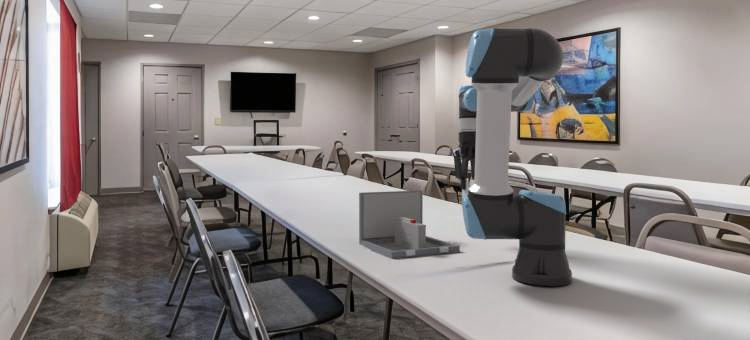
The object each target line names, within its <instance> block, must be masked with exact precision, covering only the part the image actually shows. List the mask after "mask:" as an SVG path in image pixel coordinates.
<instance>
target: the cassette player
mask: <svg viewBox="0 0 750 340" xmlns="http://www.w3.org/2000/svg"><path fill="white" fill-rule="evenodd" d="M426 228H427V227H426V224H423V223H422V224H420V223H416V220H413V219H409V218H405V217H398V219H395V242H394V244H395V245H396V246H398V247H401V248H402V249H403V250H409V249H420V248H427V247H426V245H427V244H426V242H427V241H426V236H427V234H426V230H427V229H426Z"/></svg>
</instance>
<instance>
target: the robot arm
mask: <svg viewBox="0 0 750 340" xmlns="http://www.w3.org/2000/svg"><path fill="white" fill-rule="evenodd" d="M563 52H564V51H563V49H562V46H561V44H560V43H559V41H558V40H557V39H556V37H554V36H553V35H552V34H551V33H549V32H547V31H545V30H543V29H539V28H531V27H530V28H529V27H528V28H497V27H496V28H493V27H491V28H484V29H482V28H481V29H477V30H476V31H474V32H473V33H472V36H471V37H470V39H469V43H468V48H467V53H466V60H465V76H466V77H467V78H470V79H471V84H469V85H468V84H467V85H462V86H460V87H459V90H458V130H459V132H458V142H459V144H458V148H456V149H453V150H452V151H451V153H452V157H453V166H454V175H455V176H454V177H455V179H457V180H459V181H460V190H461V207H462V216H463V222H464V227H465V230H466V234H467V236H468V237H470V239H474V240H476V239H477V240H483V241H487V240H518V242H519V243H518V245H519V246H518V247H519V248H518V251H517V254H516V258H515V260H514V261H515V262H514V265H513V266H512V269H511V277H512V279H514V280H515V281H517V282H521V283H525V284H530V285H534V286H535V285H536V286H547V287H548V286H550V287H551V286H564V285H569V284H570V283H573V272H572V270H571V269H570V263H569V260H568V257H567V253H566V252H567V251H566V219H567V217H566V215H567V208H566V200H565V198H564V197H563V196H562V195H559V194H555V193H551V192H550V193H549V192H544V191H538V190H537V191H535V190H527V189H521V190H519V192H518V195H515V194H514V188H512V187H511V185H510V184H509V168H510V167H509V164H510V163H509V162H510V141H511V120H512V119H511V118H512V116H511V115H512V112H513V113H514V112H515V113H517V112H518V113H523V112H530V111H531V110H532V108H533V106H534V102H535V101H534V100H535V99H534V97H535V95H534V94H535V93H536V92H537V91H538V90H539V89H540V87H541V86H542V85H543V84H544V83H545V82H547V81H549V80H552V79H553V78H554V77H555V76H556V75H557V74H558V72H559V71H560V70H561V68H562V66H563V62H564V53H563ZM469 161H470V162H469ZM469 163H470V173H471V179H469V180H467V178H468V171H469Z"/></svg>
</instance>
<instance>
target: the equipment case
mask: <svg viewBox="0 0 750 340" xmlns="http://www.w3.org/2000/svg"><path fill="white" fill-rule="evenodd" d="M423 191H424V190H421V189H419V190H398V191H397V190H395V191H372V192H370V191H367V192H364V191H363V192H359V193H358V235H359V236H358V241H359V242H358V244H359V245H361V246H362V247H364V248H365V249H368V250H370V251H371V252H374V253H377V254H380V255H382V256H384V257H387V258H389V259H391V260H392V259H401V258H413V257H422V256H432V255H440V254H442V255H443V254H450V253H452V254H453V253H460V251H461V249H460V248H461V246H460V245H459V244H455V243H452V242H448V241H445V240H440V239H437V238H434V237H431V236H427V235H426V242H429V243H432V244H434V245H436V246H432V247H426V248H420V249H409V250H407V249H401V250H392V249H390V248H387V247H383V246H382V245H380V244H386V243H395V219H398V217H405V218H409V219H413V220H416V223H420V224H423V212H424V211H423V202H424V201H423V199H424V198H423V196H424V195H423V193H424V192H423Z"/></svg>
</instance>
